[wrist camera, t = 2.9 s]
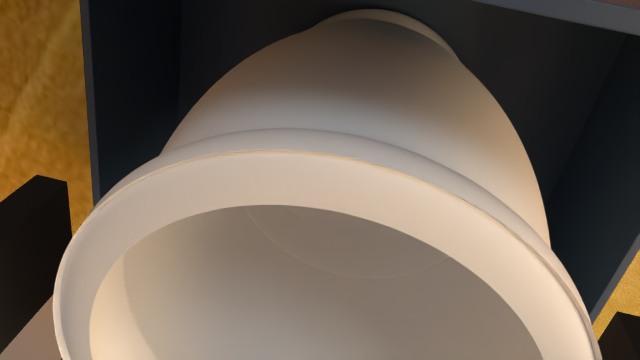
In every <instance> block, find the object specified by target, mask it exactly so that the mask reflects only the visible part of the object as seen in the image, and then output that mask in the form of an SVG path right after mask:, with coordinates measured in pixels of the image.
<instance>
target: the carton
mask: <svg viewBox="0 0 640 360" xmlns="http://www.w3.org/2000/svg"><path fill="white" fill-rule="evenodd" d="M358 9H382V10H389V11H393V12H397V13H401V14H404V15H407V16H409V17H411V18H414V19H416V20H418V21H420V22H421V23H423V24H425V25H426V26H428V27H429V28H431V29H432V30H433V31H435V32H436V33H437V34H438V35H439V36H440V37H442V38H443V39H444V40H445V42H446V43H447V44H448V45H449V46H450V47H451V49H452V50H453V51H454V53H455V54H456V56H457V57H458V59H459V61H460V62H461V63H462V64H463V65H464V66H465V67H466V68H467V69H468V70H469V71H470V72H471V73H472V74H473V75H474V76H475V77H476V78H477V79H478V80H479V81H480V82H481V83H482V84H483V85H484V86H485V87H486V89H487V90H488V91H489V92H490V93H491V95H492V96H493V97H494V98H495V100H496V101H497V102H498V104H499V105H500V106H501V108H502V109H503V111H504V112H505V114H506V115H507V117H508V118H509V120H510V122H511V123H512V125H513V127H514V129H515V130H516V132H517V134H518V136H519V138H520V140H521V142H522V144H523V146H524V148H525V151H526V153H527V155H528V158H529V160H530V163H531V165H532V168H533V171H534V173H535V176H536V180H537V183H538V186H539V190H540V193H541V197H542V201H543V205H544V210H545V215H546V220H547V225H548V231H549V238H550V246H551V250H552V251H553V252H554V254H555V255H556V256H557V258H558V259H559V260H560V262H561V263H562V265H563V266H564V268H565V269H566V271H567V272H568V274H569V276H570V277H571V279H572V281H573V283H574V285H575V286H576V288H577V290H578V292H579V294H580V296H581V299H582V301H583V303H584V305H585V308H586V310H587V313H588V315H589V318H590V321H591V325H593V323H594V322H595V320H596V318H597V317H598V315H599V314H600V312H601V310H602V309H603V307H604V306H605V304H606V302H607V301H608V299H609V298H610V296H611V294H612V293H613V291H614V290H615V288H616V286H617V285H618V283H619V282H620V280H621V278H622V277H623V275H624V274H625V272H626V270H627V269H628V267H629V266H630V264H631V262H632V261H633V259H634V257H635V256H636V254H637V253H638V251H639V249H640V0H80V14H81V29H82V43H83V58H84V73H85V88H86V102H87V117H88V132H89V147H90V161H91V176H92V191H93V205H94V207H95V206H96V204H97V203H98V202H99V201H100V200H101V199H102V198H103V197H104V196H105V195H106V194H107V193H108V192H109V191H110V190H111V189H112V188H113V187H114V186H115V185H116V184H117V183H118V182H120V181H121V180H122V179H123V178H124V177H126V176H127V175H128V174H130V173H131V172H133V171H134V170H136V169H137V168H139V167H140V166H142V165H144V164H145V163H147V162H149V161H150V160H152V159H154V158H156V157H158V156H159V155H160V154H161V152H162V150H163V149H164V147H165V145H166V144H167V142H168V141H169V139H170V138H171V136H172V134H173V133H174V132H175V130H176V129H177V127H178V126H179V124H180V123H181V122H182V120H183V119H184V118H185V116H186V115H187V114H188V113H189V111H190V110H191V109H192V108H193V106H194V105H195V104H196V103H197V102H198V101H199V100H200V98H201V97H202V96H203V95H204V94H205V93H206V92H207V91H208V90H209V89H210V88H211V87H212V86H213V85H214V84H215V83H216V82H217V81H218V80H220V79H221V78H222V77H223V76H224V75H225V74H227V73H228V72H229V71H230V70H231V69H233V68H234V67H235V66H237V65H238V64H239V63H241V62H242V61H244V60H245V59H247V58H248V57H250V56H251V55H253V54H254V53H256V52H258V51H259V50H261V49H263V48H265V47H267V46H269V45H271V44H273V43H275V42H277V41H279V40H281V39H284V38H286V37H289V36H292V35H294V34H297V33H300V32H303V31H305V30H308V29H310V28H312V27H313V26H315V25H316V24H318V23H320V22H321V21H323V20H325V19H327V18H329V17H331V16H334V15H337V14H340V13H343V12H347V11H352V10H358Z"/></svg>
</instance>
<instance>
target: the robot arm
mask: <svg viewBox="0 0 640 360" xmlns="http://www.w3.org/2000/svg"><path fill="white" fill-rule="evenodd" d="M71 239H72V230H71V219H70V209H69V198H68V187H67V182H66V181H61V180H57V179H53V178H49V177H44V176H40V175H36V176H34V177H33V178H32V179H30V180H29V181H28V182H26V183H25V184H24V185H22V186H21V187H20V188H19V189H17V190H16V191H15V192H13V193H12V194H11V195H9V196H8V197H7V198H6V199H4V200H3V201H2V202H0V354H1V353H2V352H3V350H4V349H5V348H6V347H7V346H8V345H9V343H10V342H11V341H12V340H13V339H14V338H15V337H16V336H17V335H18V333H19V332H20V331H21V330H22V329H23V328H24V326H25V325H26V324H27V323H28V322H29V321H30V320H31V319H32V318H33V316H34V315H35V314H36V313H37V312H38V311H39V310H40V308H41V307H42V306H43V305H44V304H45V303H46V302H47V301H48V299H49V298H50V297H51V296H52V295H53V294H54V286H55V281H56V276H57V272H58V269H59V266H60V263H61V260H62V257H63V255H64V253H65V251H66V249H67V247H68V245H69V243H70V241H71ZM598 345H599V348H600V352H601V356H602V360H640V317H639V316H634V315H630V314H626V313H622V312H616V314H615V315H614V317H613V318H612V320H611V321H610V323H609V325H608V326H607V328H606V329H605V331H604V332H603V334H602V335H601V337H600V339H599V340H598Z"/></svg>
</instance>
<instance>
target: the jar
mask: <svg viewBox="0 0 640 360" xmlns="http://www.w3.org/2000/svg"><path fill="white" fill-rule="evenodd" d="M53 318H54V328H55V334H56V338H57V343H58V346H59V350H60V353H61V356H62V359H63V360H602V356H601V352H600V348H599V345H598V342H597V339H596V336H595V334H594V331H593V328H592V325H591V321H590V318H589V315H588V313H587V310H586V308H585V305H584V303H583V301H582V299H581V296H580V294H579V292H578V290H577V288H576V286H575V285H574V283H573V281H572V279H571V277H570V276H569V274H568V272H567V271H566V269H565V268H564V266H563V265H562V263H561V262H560V260H559V259H558V258H557V256H556V255H555V254H554V252H553V251H552V250H551V246H550V238H549V231H548V225H547V220H546V215H545V210H544V205H543V201H542V197H541V193H540V190H539V186H538V183H537V180H536V176H535V173H534V171H533V168H532V165H531V163H530V160H529V158H528V155H527V153H526V151H525V148H524V146H523V144H522V142H521V140H520V138H519V136H518V134H517V132H516V130H515V129H514V127H513V125H512V123H511V122H510V120H509V118H508V117H507V115H506V114H505V112H504V111H503V109H502V108H501V106H500V105H499V104H498V102H497V101H496V100H495V98H494V97H493V96H492V95H491V93H490V92H489V91H488V90H487V89H486V87H485V86H484V85H483V84H482V83H481V82H480V81H479V80H478V79H477V78H476V77H475V76H474V75H473V74H472V73H471V72H470V71H469V70H468V69H467V68H466V67H465V66H464V65H463V64H462V63H461V62H460V61H459V59H458V57H457V56H456V54H455V53H454V51H453V50H452V49H451V47H450V46H449V45H448V44H447V43H446V42H445V40H444V39H443V38H442V37H440V36H439V35H438V34H437V33H436V32H435V31H433V30H432V29H431V28H429V27H428V26H426V25H425V24H423V23H421V22H420V21H418V20H416V19H414V18H411V17H409V16H407V15H404V14H401V13H397V12H393V11H389V10H382V9H358V10H352V11H347V12H343V13H340V14H337V15H334V16H331V17H329V18H327V19H325V20H323V21H321V22H320V23H318V24H316V25H315V26H313V27H312V28H310V29H308V30H305V31H303V32H300V33H297V34H294V35H292V36H289V37H286V38H284V39H281V40H279V41H277V42H275V43H273V44H271V45H269V46H267V47H265V48H263V49H261V50H259V51H258V52H256V53H254V54H253V55H251V56H250V57H248V58H247V59H245V60H244V61H242V62H241V63H239V64H238V65H237V66H235V67H234V68H233V69H231V70H230V71H229V72H228V73H227V74H225V75H224V76H223V77H222V78H221V79H220V80H218V81H217V82H216V83H215V84H214V85H213V86H212V87H211V88H210V89H209V90H208V91H207V92H206V93H205V94H204V95H203V96H202V97H201V98H200V100H199V101H198V102H197V103H196V104H195V105H194V106H193V108H192V109H191V110H190V111H189V113H188V114H187V115H186V116H185V118H184V119H183V120H182V122H181V123H180V124H179V126H178V127H177V129H176V130H175V132H174V133H173V134H172V136H171V138H170V139H169V141H168V142H167V144H166V145H165V147H164V149H163V150H162V152H161V154H160V155H159V156H158V157H156V158H154V159H152V160H150V161H149V162H147V163H145V164H144V165H142V166H140V167H139V168H137V169H136V170H134V171H133V172H131V173H130V174H128V175H127V176H126V177H124V178H123V179H122V180H121V181H120V182H118V183H117V184H116V185H115V186H114V187H113V188H112V189H111V190H110V191H109V192H108V193H107V194H106V195H105V196H104V197H103V198H102V199H101V200H100V201H99V202H98V203H97V204H96V206H95V207H94V208H93V209H92V211H91V212H90V213H89V215H88V216H87V218H86V219H85V221H84V222H83V224H82V225H81V226H80V227H79V229H78V230H77V232H76V233H75V235H74V236H73V238H72V239H71V241H70V243H69V245H68V247H67V249H66V251H65V253H64V255H63V257H62V260H61V263H60V266H59V269H58V272H57V276H56V281H55V286H54V294H53Z"/></svg>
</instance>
